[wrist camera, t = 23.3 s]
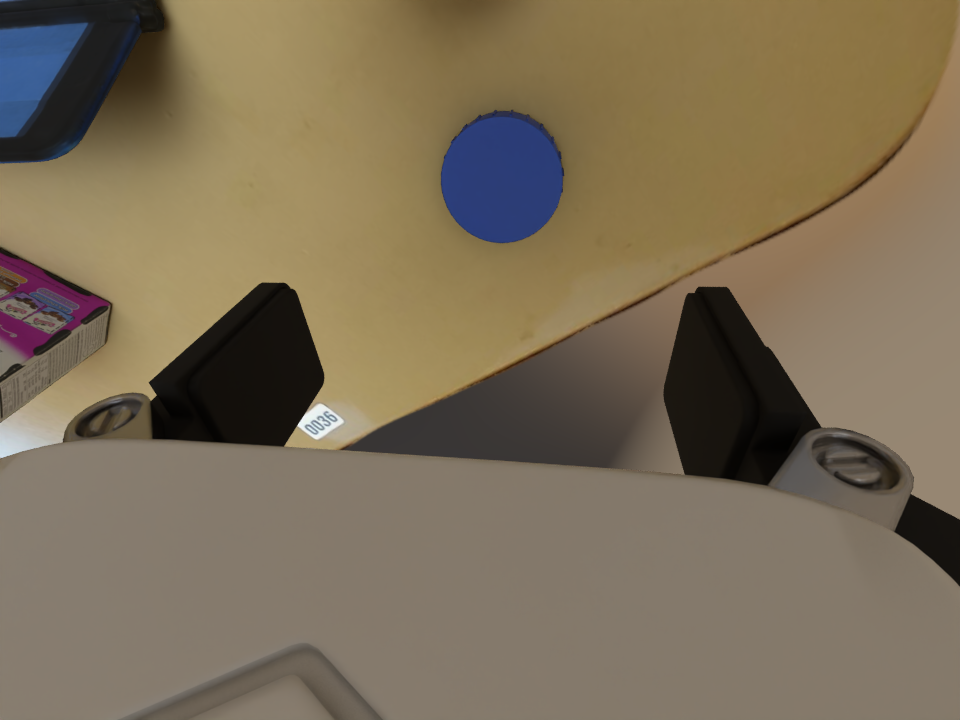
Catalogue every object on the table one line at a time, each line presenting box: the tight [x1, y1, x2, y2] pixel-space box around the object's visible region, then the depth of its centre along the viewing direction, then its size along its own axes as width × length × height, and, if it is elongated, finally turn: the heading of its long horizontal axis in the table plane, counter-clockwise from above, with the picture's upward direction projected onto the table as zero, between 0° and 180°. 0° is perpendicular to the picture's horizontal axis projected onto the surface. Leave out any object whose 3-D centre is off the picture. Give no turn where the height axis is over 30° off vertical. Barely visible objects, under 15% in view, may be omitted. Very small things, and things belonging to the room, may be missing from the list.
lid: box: [441, 110, 564, 243], centre depth 24 cm, size 6×6×2 cm
